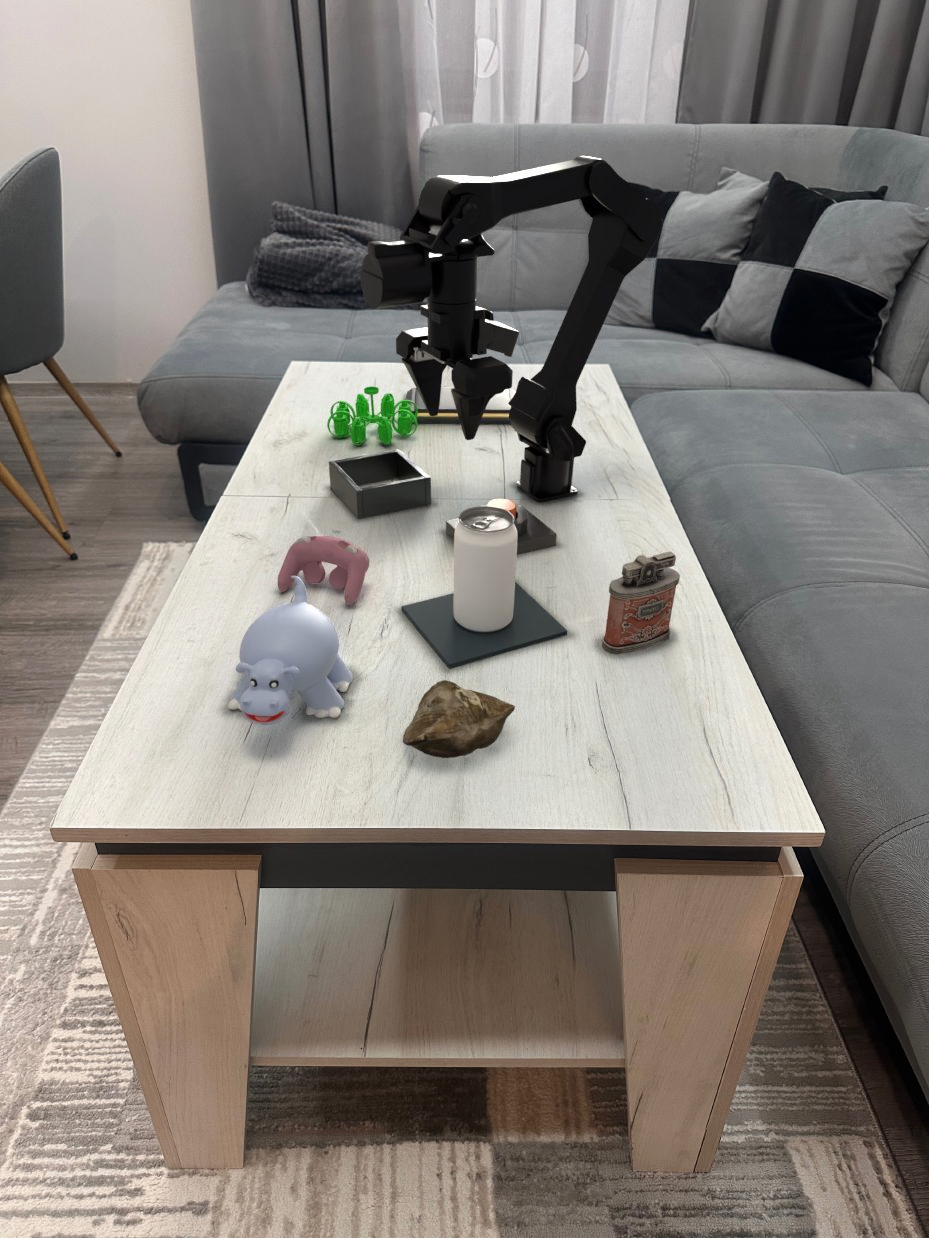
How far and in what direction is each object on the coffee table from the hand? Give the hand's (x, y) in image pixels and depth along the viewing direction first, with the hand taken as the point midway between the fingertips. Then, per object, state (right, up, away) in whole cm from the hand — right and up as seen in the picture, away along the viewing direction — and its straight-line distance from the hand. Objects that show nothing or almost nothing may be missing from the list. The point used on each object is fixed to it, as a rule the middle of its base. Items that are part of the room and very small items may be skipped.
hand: (451, 427), depth 111 cm
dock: (-10, -7, +11) cm, 16 cm away
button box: (+6, -14, +1) cm, 15 cm away
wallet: (+1, +12, +40) cm, 42 cm away
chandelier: (-13, +6, +30) cm, 33 cm away
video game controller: (-14, -21, -10) cm, 27 cm away
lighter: (+20, -27, -18) cm, 37 cm away
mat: (+4, -25, -15) cm, 29 cm away
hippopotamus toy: (-15, -32, -27) cm, 45 cm away
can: (+4, -24, -15) cm, 29 cm away
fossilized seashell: (+1, -35, -31) cm, 47 cm away
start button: (+6, -11, -1) cm, 13 cm away
